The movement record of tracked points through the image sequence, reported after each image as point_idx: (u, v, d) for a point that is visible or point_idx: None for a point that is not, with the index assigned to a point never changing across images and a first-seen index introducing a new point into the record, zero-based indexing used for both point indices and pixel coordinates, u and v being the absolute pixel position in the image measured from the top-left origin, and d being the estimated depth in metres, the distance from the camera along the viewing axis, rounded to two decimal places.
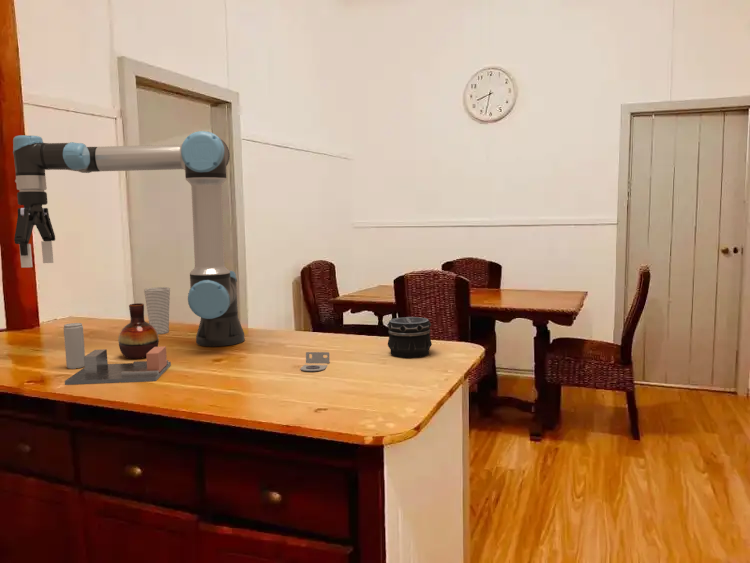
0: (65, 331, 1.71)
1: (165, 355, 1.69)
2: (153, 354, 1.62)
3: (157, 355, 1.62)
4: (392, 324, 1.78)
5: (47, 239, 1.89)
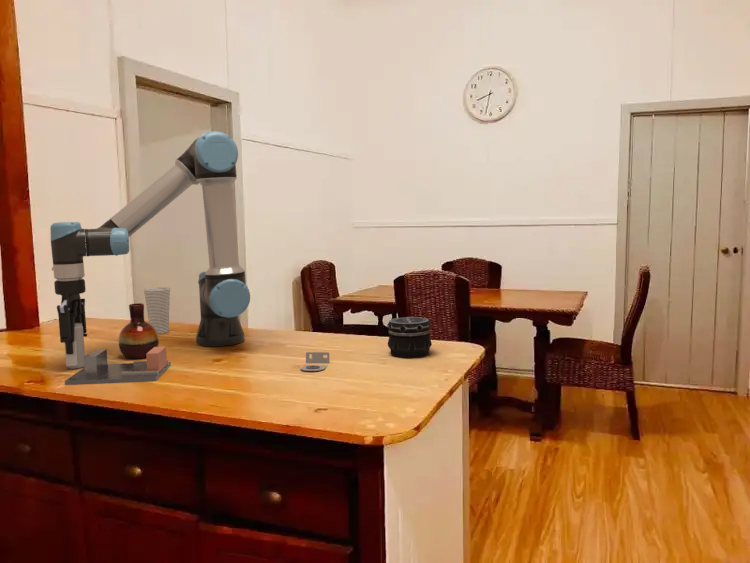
0: None
1: (165, 355, 1.69)
2: (153, 354, 1.62)
3: (157, 355, 1.62)
4: (392, 324, 1.78)
5: None
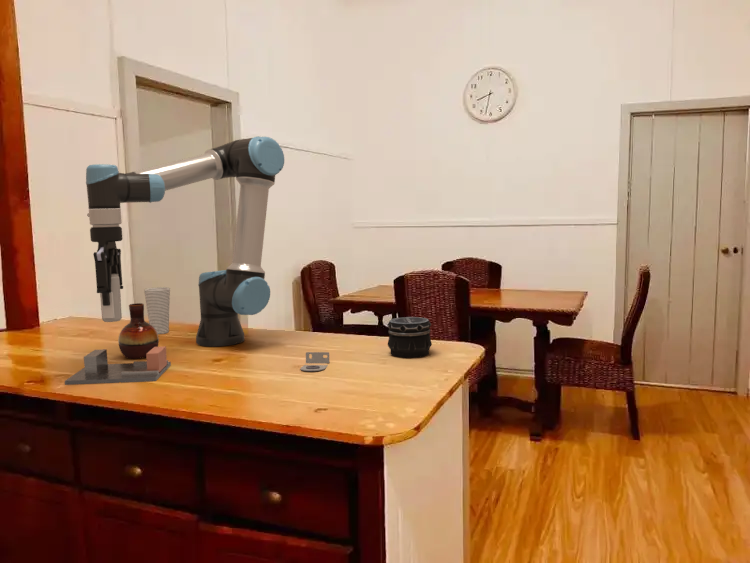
0: None
1: (165, 355, 1.69)
2: (153, 354, 1.62)
3: (157, 355, 1.62)
4: (392, 324, 1.78)
5: None
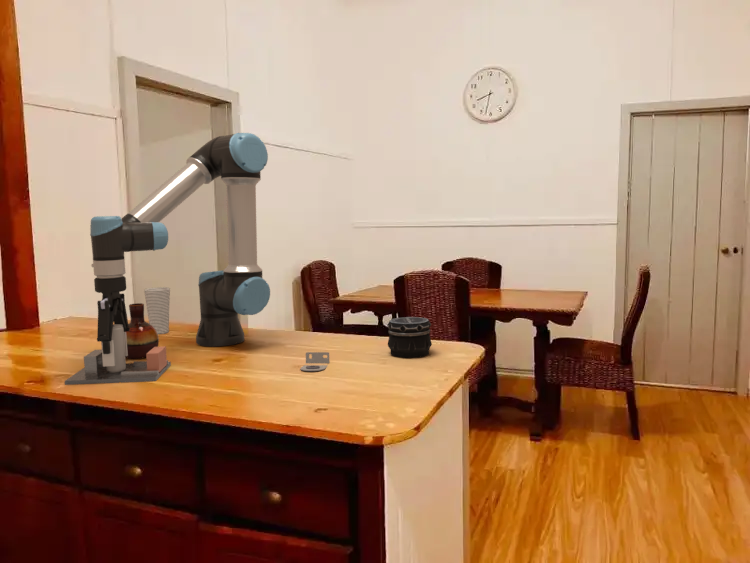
0: None
1: (165, 355, 1.69)
2: (153, 354, 1.62)
3: (157, 355, 1.62)
4: (392, 324, 1.78)
5: None
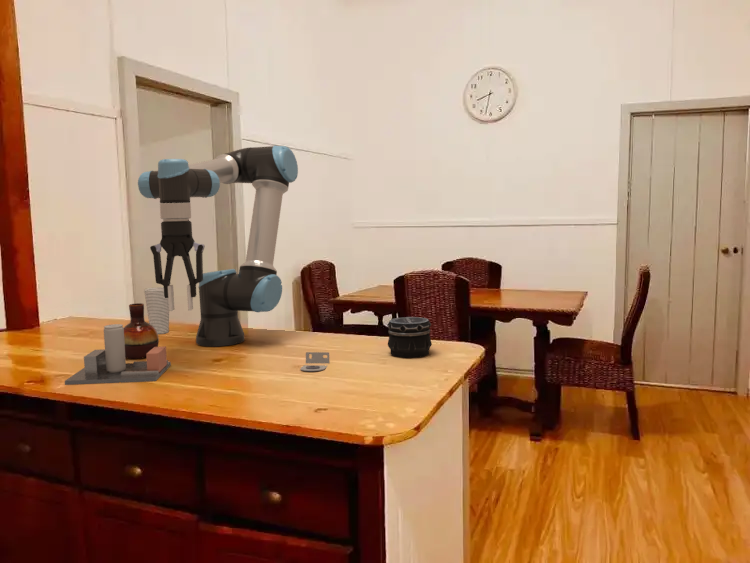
0: (105, 333, 1.62)
1: (165, 355, 1.69)
2: (153, 354, 1.62)
3: (157, 355, 1.62)
4: (392, 324, 1.78)
5: None
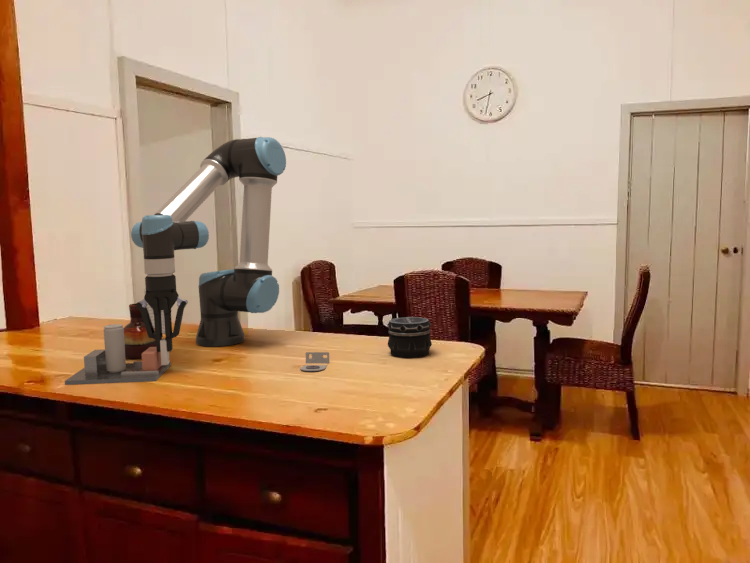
0: (105, 333, 1.62)
1: (160, 355, 1.69)
2: (148, 354, 1.62)
3: (152, 355, 1.62)
4: (392, 324, 1.78)
5: None
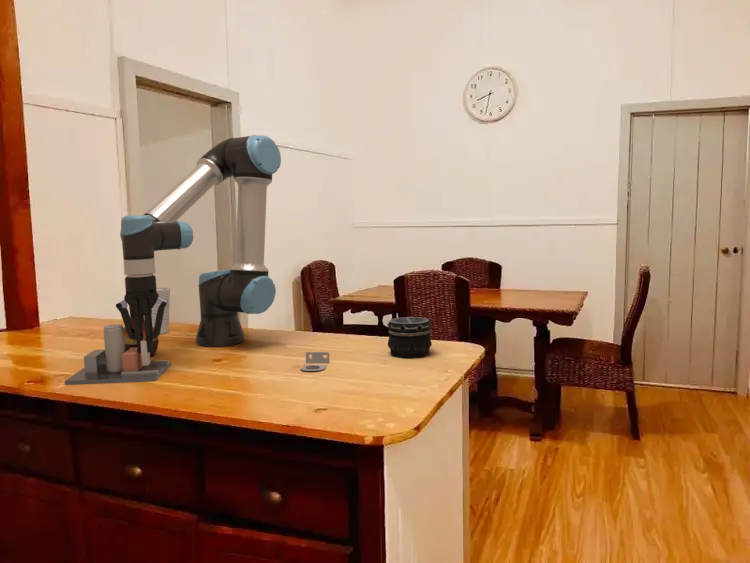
0: (105, 333, 1.62)
1: None
2: (129, 355, 1.61)
3: (133, 356, 1.61)
4: (392, 324, 1.78)
5: None
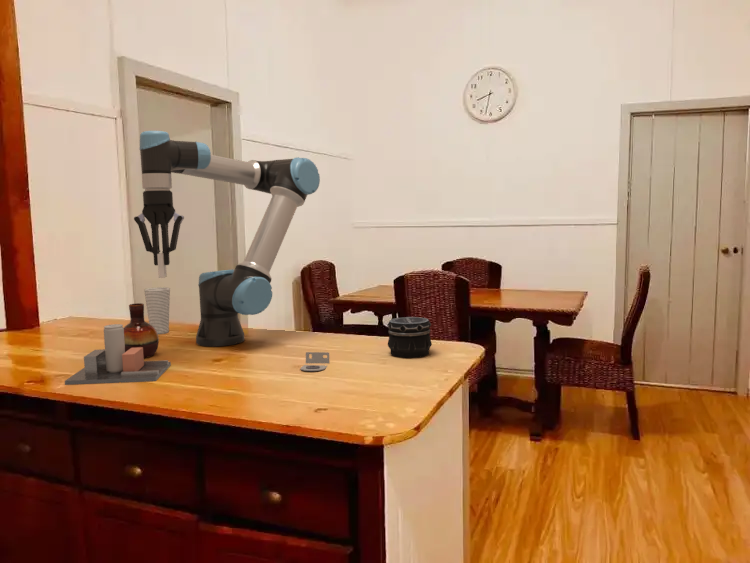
0: (105, 333, 1.62)
1: (142, 356, 1.68)
2: (129, 355, 1.61)
3: (133, 356, 1.61)
4: (392, 324, 1.78)
5: None
